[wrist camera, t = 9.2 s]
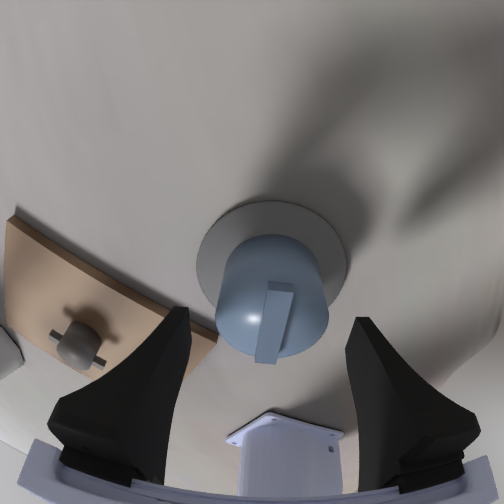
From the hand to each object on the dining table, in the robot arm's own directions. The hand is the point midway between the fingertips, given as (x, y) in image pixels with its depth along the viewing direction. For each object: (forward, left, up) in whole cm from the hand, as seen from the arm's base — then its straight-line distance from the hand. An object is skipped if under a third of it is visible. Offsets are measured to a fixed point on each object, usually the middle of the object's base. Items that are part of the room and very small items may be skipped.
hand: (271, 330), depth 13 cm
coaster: (0, 0, -4) cm, 4 cm away
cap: (0, 0, -4) cm, 4 cm away
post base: (+8, +12, -4) cm, 15 cm away
